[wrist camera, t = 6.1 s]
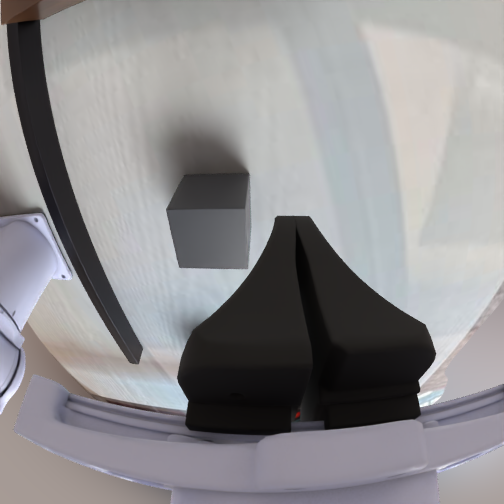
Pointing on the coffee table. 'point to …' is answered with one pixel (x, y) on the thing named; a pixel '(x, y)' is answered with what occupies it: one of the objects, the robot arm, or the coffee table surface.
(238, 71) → the coffee table surface
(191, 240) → the block charcoal
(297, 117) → the coffee table surface
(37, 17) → the block walnut
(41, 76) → the straightedge
